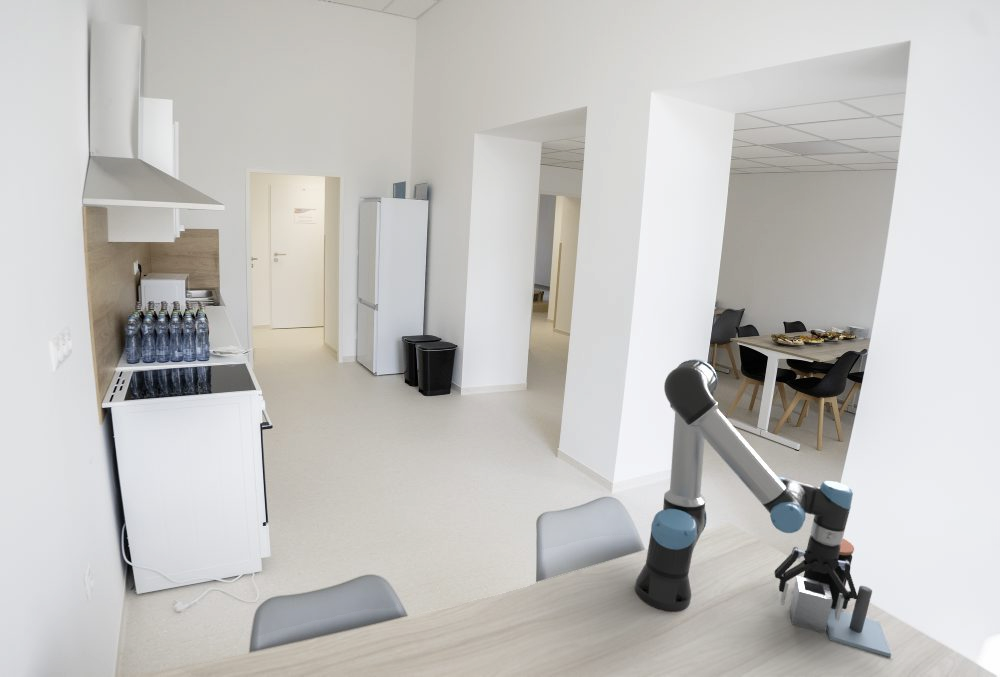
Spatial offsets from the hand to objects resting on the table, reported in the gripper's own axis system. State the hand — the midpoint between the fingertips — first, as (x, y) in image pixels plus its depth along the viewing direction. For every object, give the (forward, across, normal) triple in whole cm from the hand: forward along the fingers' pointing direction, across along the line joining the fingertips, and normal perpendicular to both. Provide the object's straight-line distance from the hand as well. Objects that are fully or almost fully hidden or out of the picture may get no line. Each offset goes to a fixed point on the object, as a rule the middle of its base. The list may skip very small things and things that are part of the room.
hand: (809, 609), depth 170 cm
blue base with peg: (+3, +12, +1) cm, 12 cm away
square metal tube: (+3, 0, 0) cm, 3 cm away
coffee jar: (+3, +5, +14) cm, 15 cm away
